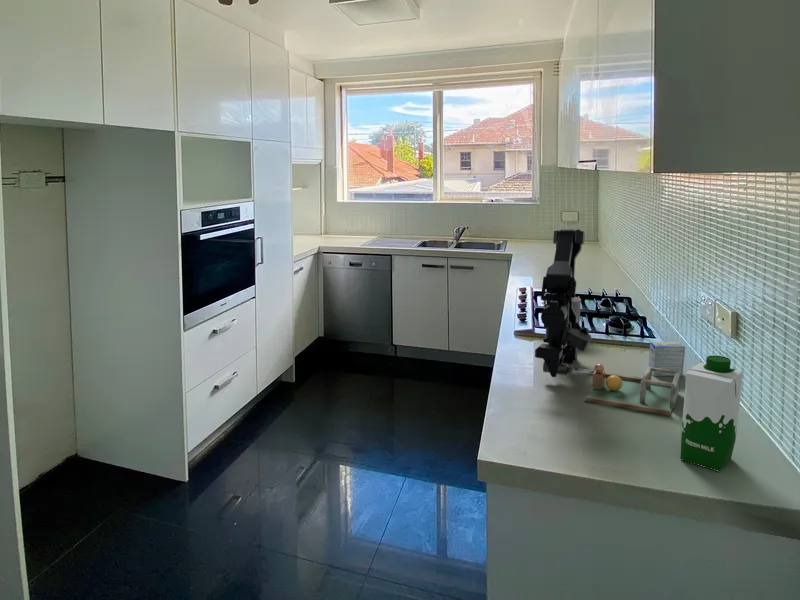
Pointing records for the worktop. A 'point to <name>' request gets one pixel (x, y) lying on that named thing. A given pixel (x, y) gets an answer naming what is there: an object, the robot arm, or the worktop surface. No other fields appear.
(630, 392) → the pitch
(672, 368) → the medicine box
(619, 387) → the ball
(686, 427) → the milk carton
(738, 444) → the worktop surface
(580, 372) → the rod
